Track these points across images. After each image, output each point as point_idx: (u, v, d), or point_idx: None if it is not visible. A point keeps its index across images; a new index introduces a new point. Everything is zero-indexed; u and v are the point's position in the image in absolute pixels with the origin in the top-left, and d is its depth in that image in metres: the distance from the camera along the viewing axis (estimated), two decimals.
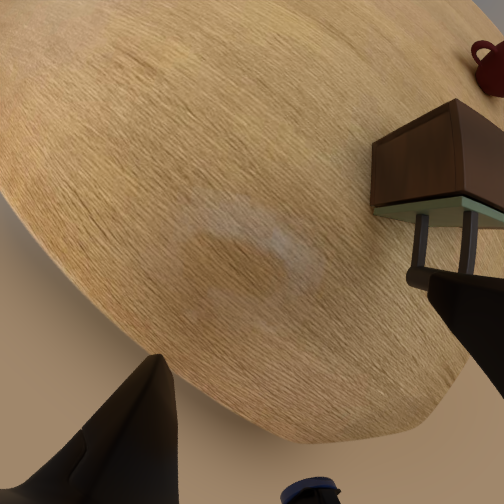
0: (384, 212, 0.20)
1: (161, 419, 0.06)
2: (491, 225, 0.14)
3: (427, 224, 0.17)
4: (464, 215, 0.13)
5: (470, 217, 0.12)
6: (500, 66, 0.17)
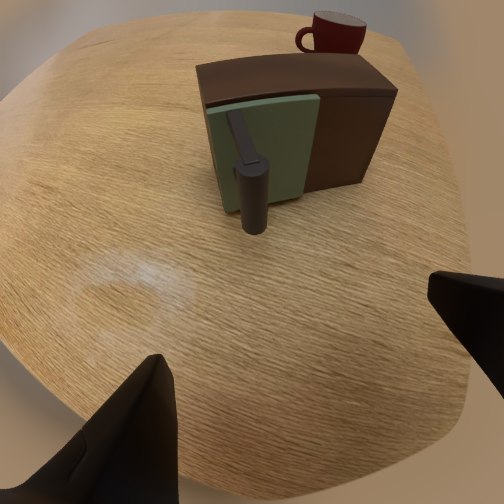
0: (222, 199, 0.22)
1: (161, 419, 0.06)
2: (307, 122, 0.17)
3: None
4: (227, 122, 0.15)
5: None
6: (321, 37, 0.30)
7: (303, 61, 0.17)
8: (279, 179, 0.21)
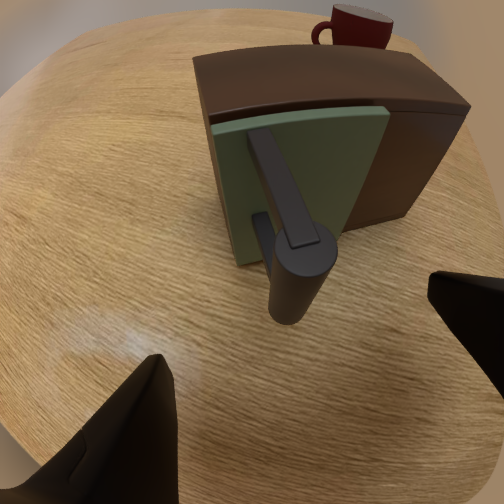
0: (234, 252, 0.16)
1: (161, 419, 0.06)
2: (366, 149, 0.11)
3: (268, 222, 0.13)
4: (248, 149, 0.09)
5: None
6: (343, 33, 0.24)
7: (349, 56, 0.11)
8: None
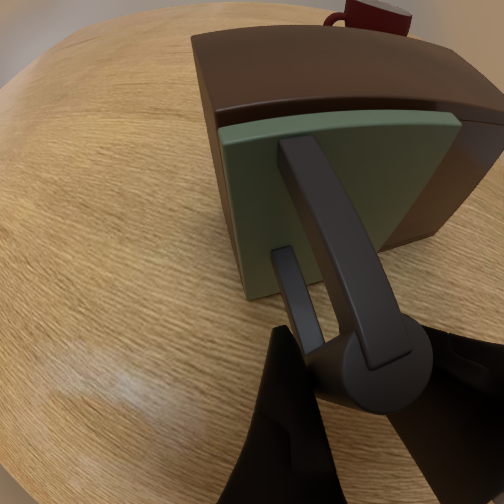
0: (244, 288, 0.13)
1: None
2: (425, 168, 0.07)
3: (293, 262, 0.09)
4: (279, 168, 0.06)
5: None
6: (358, 25, 0.21)
7: (393, 44, 0.08)
8: None
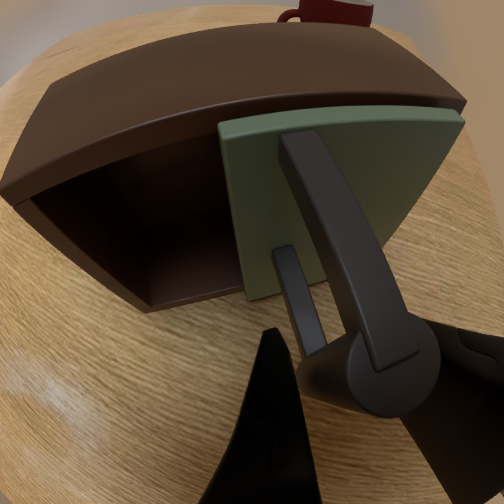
0: (245, 288, 0.13)
1: None
2: (429, 165, 0.07)
3: (295, 261, 0.09)
4: (280, 164, 0.05)
5: None
6: (311, 21, 0.20)
7: (252, 36, 0.07)
8: None
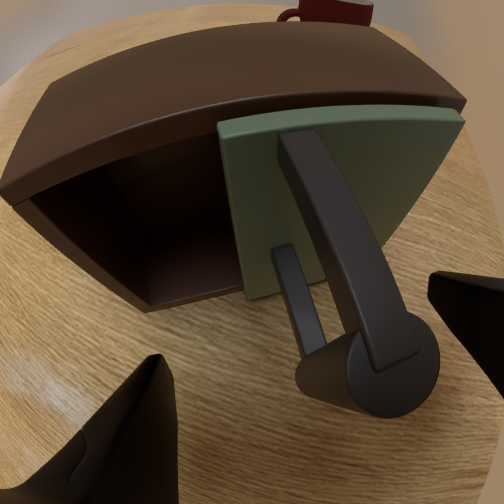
0: (244, 287, 0.13)
1: (161, 419, 0.06)
2: (428, 165, 0.07)
3: (294, 260, 0.09)
4: (280, 163, 0.05)
5: None
6: (311, 20, 0.20)
7: (251, 35, 0.07)
8: None
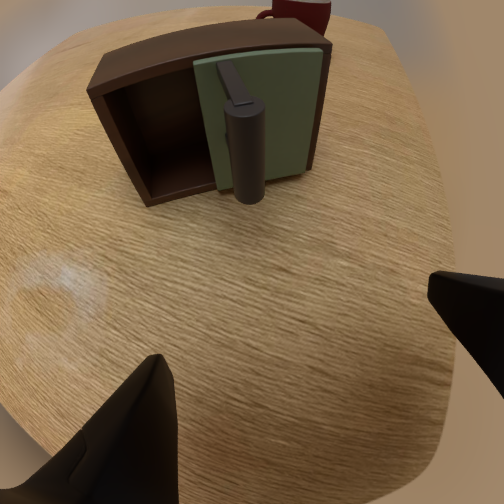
0: (214, 174, 0.19)
1: (161, 419, 0.06)
2: (309, 80, 0.13)
3: None
4: (217, 74, 0.12)
5: None
6: None
7: (216, 29, 0.13)
8: (279, 149, 0.18)
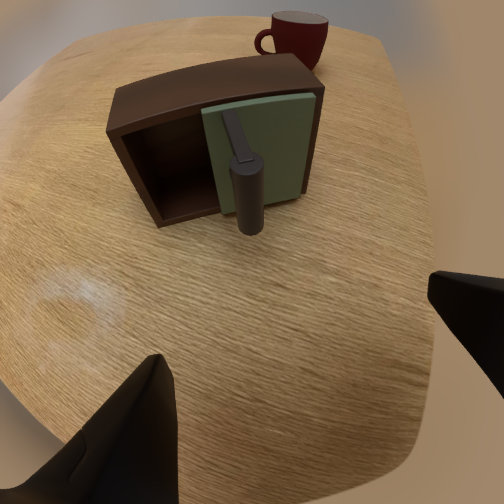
0: (219, 201, 0.22)
1: (161, 419, 0.06)
2: (303, 121, 0.16)
3: None
4: (222, 121, 0.15)
5: None
6: (279, 38, 0.30)
7: (219, 69, 0.16)
8: (276, 180, 0.21)
